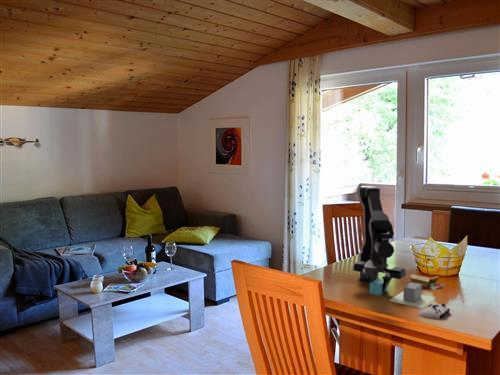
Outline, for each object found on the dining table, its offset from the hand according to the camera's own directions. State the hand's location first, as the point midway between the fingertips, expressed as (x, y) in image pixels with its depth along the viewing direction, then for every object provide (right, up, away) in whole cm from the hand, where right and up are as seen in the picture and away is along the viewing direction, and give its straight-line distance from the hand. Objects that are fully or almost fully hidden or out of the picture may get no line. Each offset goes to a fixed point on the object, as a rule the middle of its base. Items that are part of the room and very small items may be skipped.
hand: (378, 291), depth 179 cm
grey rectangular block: (+10, -1, -8) cm, 13 cm away
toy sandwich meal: (+21, -1, +8) cm, 22 cm away
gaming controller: (+13, -4, -22) cm, 26 cm away
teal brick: (0, -1, 0) cm, 1 cm away
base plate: (+10, -2, -8) cm, 13 cm away
